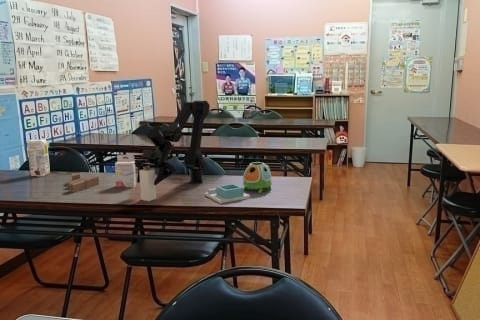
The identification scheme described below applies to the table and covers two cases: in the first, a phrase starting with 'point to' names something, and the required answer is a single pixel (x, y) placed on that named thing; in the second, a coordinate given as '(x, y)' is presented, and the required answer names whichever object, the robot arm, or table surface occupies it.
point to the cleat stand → (227, 193)
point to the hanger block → (147, 184)
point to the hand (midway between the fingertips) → (146, 183)
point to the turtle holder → (257, 176)
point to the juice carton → (38, 157)
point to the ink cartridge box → (125, 171)
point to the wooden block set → (82, 182)
